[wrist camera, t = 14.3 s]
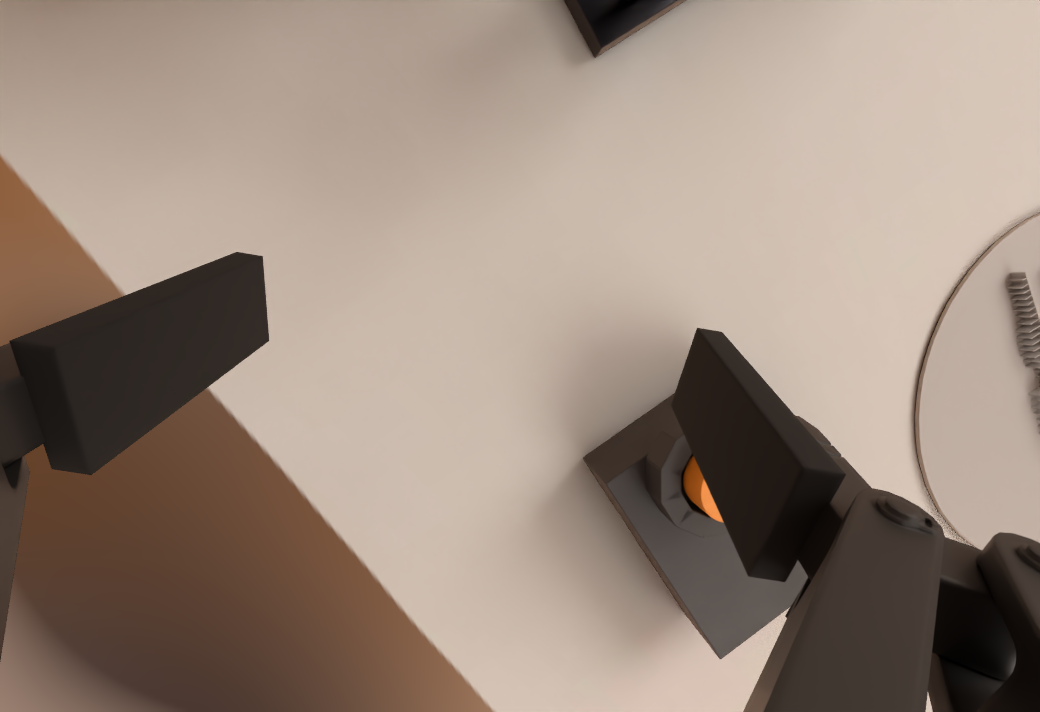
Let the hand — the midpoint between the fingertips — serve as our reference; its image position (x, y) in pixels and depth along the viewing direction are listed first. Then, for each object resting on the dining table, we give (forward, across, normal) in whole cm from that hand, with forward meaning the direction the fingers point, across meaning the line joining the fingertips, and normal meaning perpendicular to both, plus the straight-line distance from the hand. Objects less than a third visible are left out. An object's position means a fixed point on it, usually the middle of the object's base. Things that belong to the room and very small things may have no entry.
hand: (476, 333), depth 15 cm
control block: (+12, +15, -14) cm, 24 cm away
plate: (+21, +44, -6) cm, 49 cm away
